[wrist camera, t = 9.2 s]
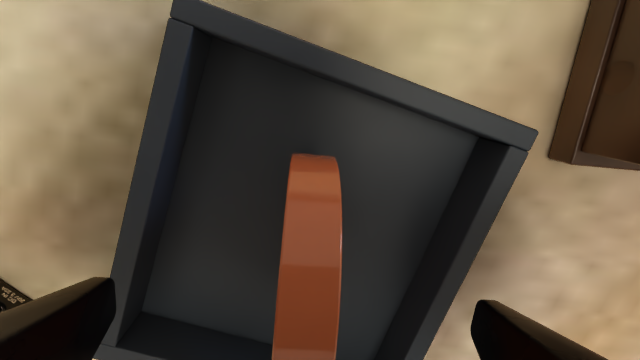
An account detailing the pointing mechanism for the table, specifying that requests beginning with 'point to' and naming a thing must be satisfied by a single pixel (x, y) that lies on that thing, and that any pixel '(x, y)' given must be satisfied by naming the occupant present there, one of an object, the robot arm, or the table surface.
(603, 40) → the rack
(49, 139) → the table surface
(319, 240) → the terracotta disc
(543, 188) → the table surface
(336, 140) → the tray
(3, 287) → the multiport hub
